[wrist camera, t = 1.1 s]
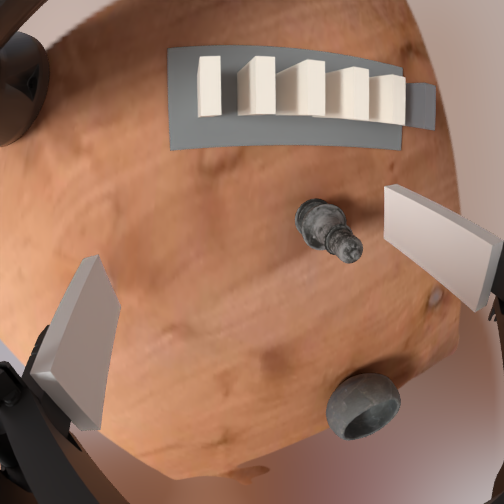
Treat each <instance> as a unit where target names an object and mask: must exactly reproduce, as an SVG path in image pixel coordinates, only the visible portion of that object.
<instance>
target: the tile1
mask: <svg viewBox="0 0 504 504" xmlns="http://www.w3.org/2000/svg"><path fill="white" fill-rule="evenodd" d="M197 99H198V118H199V117H214V116H219V115H221V62H220V56H202V57H200V59H199V65H198V72H197Z"/></svg>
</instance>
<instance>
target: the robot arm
mask: <svg viewBox="0 0 504 504" xmlns="http://www.w3.org/2000/svg"><path fill="white" fill-rule="evenodd" d="M47 1H48V0H0V147H3V146H6V145H9V144H11V143H12V142H14V141H15V140H17V139H18V138H19V137H21V136H22V135H23V134H24V133H25V132H26V131H27V130H28V128H29V127H30V126H31V125H32V123H33V122H34V120H35V119H36V117H37V115H38V113H39V111H40V109H41V107H42V105H43V102H44V99H45V96H46V93H47V89H48V83H49V61H48V57H47V54H46V51H45V49H44V47H43V46H42V44H41V43H40V42H39V41H38V40H37V39H35V38H34V37H32V36H30V35H27V34H25V33H22V32H17V31H18V30H19V28H20V27H21V26H22V25H23V24H24V23H25V22H26V21H27V20H28V19H29V18H30V17H31V16H32V15H33V14H34V13H35V12H36V11H37V10H38V9H39V8H40V7H41V6H42V5H43V4H44V3H45V2H47ZM384 199H385V203H384V239H385V240H387V241H388V242H389V243H391V244H392V245H393V246H395V247H396V248H397V249H399V250H400V251H401V252H402V253H404V254H405V255H406V256H408V257H409V258H410V259H411V260H413V261H414V262H415V263H417V264H418V265H419V266H420V267H422V268H423V269H424V270H425V271H427V272H428V273H429V274H430V275H431V276H433V277H434V278H435V279H436V280H438V281H439V282H440V283H441V284H442V285H444V286H445V287H446V288H447V289H448V290H450V291H451V292H452V293H453V294H454V295H455V296H457V297H458V298H459V299H460V300H461V301H462V302H464V303H465V304H466V305H467V306H468V307H469V308H471V310H473V311H474V312H476V311H478V310H480V309H481V308H483V307H484V306H486V305H487V302H488V298H489V296H490V292H492V293H493V294H495V295H496V297H495V300H494V303H493V307H492V309H491V312H490V314H489V318H488V320H489V321H490V320H491V318H492V316H493V315H494V314H496V316H495V319H494V321H497V324H498V330H499V337H500V343H501V350H502V359H503V368H504V240H502V239H501V238H499V237H497V236H496V235H494V234H492V233H491V232H489V231H487V230H485V229H484V228H482V227H480V226H479V225H477V224H475V223H473V222H472V221H470V220H468V219H466V218H464V217H463V216H461V215H459V214H457V213H455V212H453V211H451V210H449V209H447V208H446V207H444V206H442V205H440V204H438V203H436V202H434V201H432V200H430V199H428V198H426V197H423V196H421V195H419V194H417V193H415V192H413V191H411V190H409V189H407V188H404V187H402V186H400V185H398V184H394V185H389V186H384ZM120 309H121V305H120V303H119V301H118V299H117V296H116V294H115V292H114V290H113V288H112V285H111V283H110V281H109V278H108V276H107V274H106V272H105V269H104V267H103V264H102V262H101V259H100V257H99V255H94V256H91V257H87V258H84V259H83V260H82V262H81V264H80V266H79V267H78V269H77V271H76V273H75V275H74V277H73V279H72V281H71V282H70V284H69V286H68V288H67V290H66V292H65V294H64V296H63V298H62V300H61V302H60V304H59V306H58V308H57V311H56V313H55V315H54V317H53V319H52V321H51V324H50V325H47V326H46V328H45V329H44V330H43V331H42V332H41V334H40V335H39V337H38V339H37V341H36V343H35V347H34V348H33V350H32V353H31V356H30V357H29V360H28V362H27V365H26V367H25V370H24V372H23V375H22V378H21V377H20V376H19V375H18V374H17V373H16V371H15V370H14V368H13V367H12V366H11V365H10V363H9V362H6V361H2V362H0V463H1V470H0V504H130V503H129V502H127V500H126V499H125V498H124V497H123V496H122V495H121V494H120V493H119V491H118V490H117V489H116V488H115V487H114V486H113V485H112V483H111V482H110V481H109V480H108V479H107V478H106V476H105V475H104V474H103V473H102V471H101V470H100V469H99V468H98V467H97V465H96V464H95V463H94V461H93V460H92V459H91V457H90V456H89V455H88V453H87V452H86V451H85V449H84V448H83V447H82V445H81V444H80V442H79V441H78V440H77V438H76V437H75V436H74V435H73V434H72V433H71V432H70V431H69V428H70V422H71V421H72V422H73V423H74V424H75V425H76V426H77V427H78V428H79V429H80V430H81V431H86V430H101V421H102V412H103V404H104V397H105V390H106V383H107V377H108V371H109V365H110V359H111V353H112V348H113V343H114V338H115V333H116V328H117V323H118V318H119V314H120ZM484 504H504V462H503V465H502V467H501V469H500V471H499V473H498V474H497V477H496V479H495V482H494V487H493V492H492V498H491V500H489V501H488V502H486V503H484Z"/></svg>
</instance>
